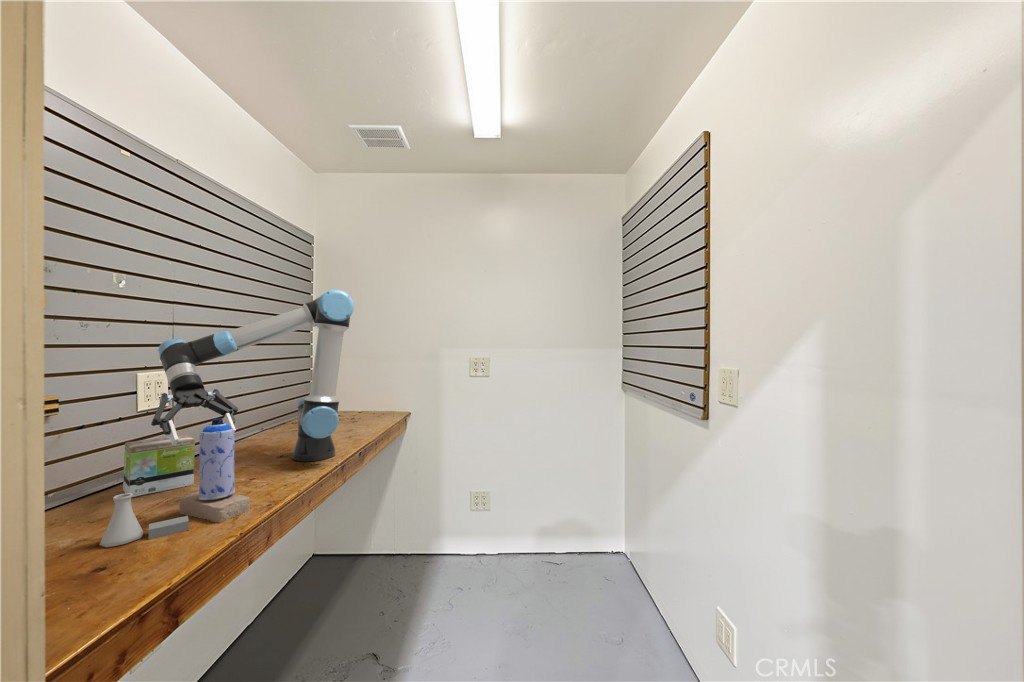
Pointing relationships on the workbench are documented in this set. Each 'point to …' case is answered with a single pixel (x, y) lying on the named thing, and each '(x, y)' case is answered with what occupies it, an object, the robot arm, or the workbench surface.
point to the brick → (214, 507)
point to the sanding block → (168, 527)
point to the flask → (122, 523)
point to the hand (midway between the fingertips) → (205, 437)
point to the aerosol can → (216, 461)
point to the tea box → (158, 465)
